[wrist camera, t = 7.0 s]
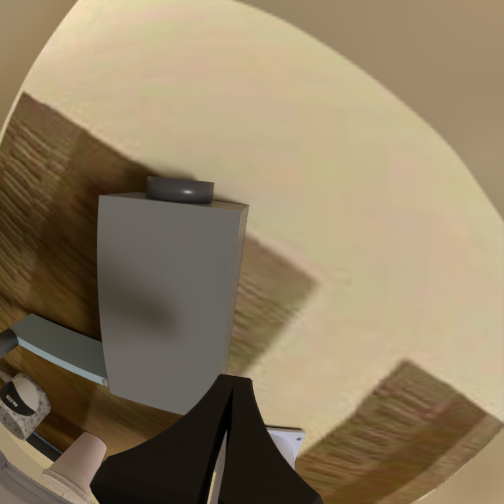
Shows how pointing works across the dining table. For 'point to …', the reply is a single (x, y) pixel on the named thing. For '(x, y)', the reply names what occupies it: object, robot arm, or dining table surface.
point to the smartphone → (44, 446)
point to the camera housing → (167, 290)
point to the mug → (22, 404)
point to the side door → (57, 347)
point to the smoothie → (76, 469)
